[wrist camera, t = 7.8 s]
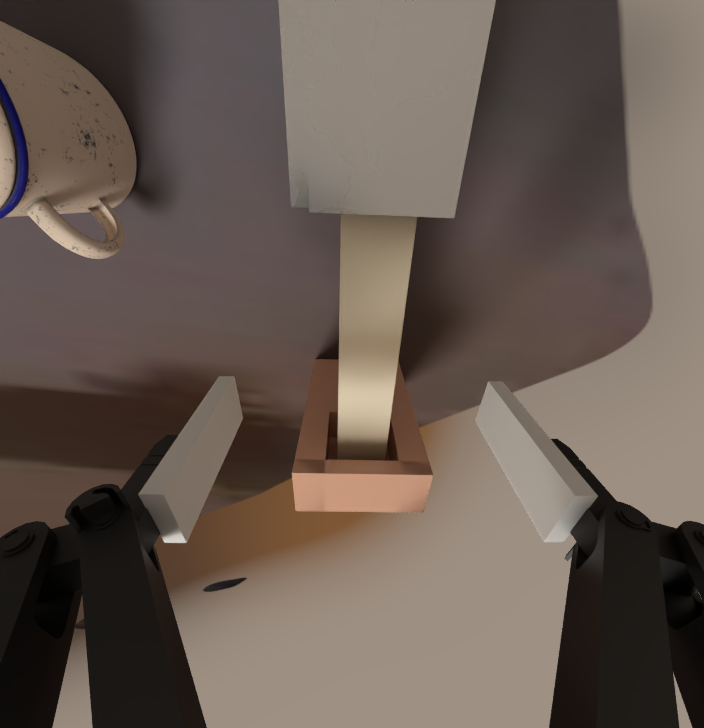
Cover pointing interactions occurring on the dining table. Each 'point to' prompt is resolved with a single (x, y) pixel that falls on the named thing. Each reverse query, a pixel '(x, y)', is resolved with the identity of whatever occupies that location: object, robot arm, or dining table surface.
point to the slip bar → (370, 328)
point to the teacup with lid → (61, 144)
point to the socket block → (358, 477)
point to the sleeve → (381, 102)
